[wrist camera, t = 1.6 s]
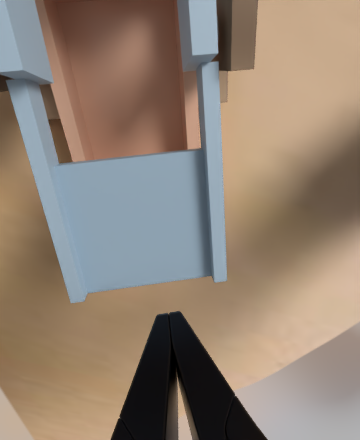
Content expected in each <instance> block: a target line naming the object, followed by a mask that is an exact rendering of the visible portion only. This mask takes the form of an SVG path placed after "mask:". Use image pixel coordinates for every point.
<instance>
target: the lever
mask: <svg viewBox="0 0 360 440" xmlns="http://www.w3.org/2000/svg"><path fill="white" fill-rule="evenodd" d="M177 7H178V19H179V31H180V44H181V56H182V68H183V72H186V71H196V77H197V92H198V107H199V122H200V137H201V148H197V149H188V150H179V151H170V152H161V153H151V154H142V155H133V156H124V157H115V158H106V159H97V160H88V161H78V162H69V163H60V164H59V161H58V157H57V154H56V150H55V146H54V142H53V138H52V134H51V130H50V126H49V122H48V118H47V114H46V110H45V106H44V102H43V98H42V94H41V91H40V87H39V85H42V84H53V83H54V80H53V76H52V72H51V68H50V63H49V59H48V55H47V51H46V46H45V42H44V38H43V34H42V30H41V25H40V21H39V17H38V13H37V8H36V4H35V0H0V74H1V75H4V76H7V77H10V78H13V79H14V80H6V82H7V86H8V89H9V93H10V96H11V100H12V103H13V106H14V110H15V113H16V117H17V120H18V124H19V127H20V130H21V134H22V137H23V141H24V144H25V148H26V151H27V154H28V158H29V161H30V165H31V168H32V172H33V175H34V178H35V182H36V185H37V189H38V192H39V196H40V199H41V202H42V206H43V209H44V213H45V216H46V220H47V223H48V226H49V230H50V233H51V237H52V240H53V244H54V247H55V250H56V254H57V257H58V261H59V264H60V268H61V271H62V274H63V278H64V281H65V285H66V288H67V291H68V295H69V298H70V302H71V303H76V302H83V301H85V298H86V296H87V293H93V292H100V291H107V290H114V289H121V288H128V287H136V286H143V285H150V284H157V283H164V282H171V281H178V280H185V279H192V278H199V277H206V276H212V278H213V280H214V283H215V282H222V281H227V266H226V240H225V215H224V189H223V164H222V139H221V113H220V88H219V62H218V61H216V62H211V60H212V59H213V58H214V57H215V56H216V55H217V54H218V37H219V26H218V17H217V9H216V0H177Z"/></svg>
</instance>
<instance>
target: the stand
mask: <svg viewBox="0 0 360 440" xmlns="http://www.w3.org/2000/svg"><path fill="white" fill-rule="evenodd" d="M257 7H258V0H216V9H217V17H218V26H219V37H218V54H217V55H216V56H215V57H214V58H213V59H212V60H211V62H216V61H218V62H219V88H220V103H223V102H227V96H228V71H238V70H249V69H254V60H255V42H256V25H257ZM6 80H14V79H13V78H10V77H7V76H4V75H1V74H0V92H2V91H8V90H9V89H8V86H7V82H6ZM39 87H40V91H41V94H42V98H43V102H44V106H45V110H46V114H47V118H48V120H51V119H60V116H59V112H58V109H57V106H56V102H55V99H54V95H53V92H52V88H51V85H50V84H42V85H39Z"/></svg>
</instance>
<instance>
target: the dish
mask: <svg viewBox="0 0 360 440" xmlns="http://www.w3.org/2000/svg"><path fill="white" fill-rule="evenodd" d="M35 4H36V8H37V13H38V17H39V21H40V25H41V30H42V34H43V38H44V42H45V46H46V51H47V55H48V59H49V63H50V68H51V72H52V76H53V80H54V83H53V84H50V85H51V88H52V92H53V95H54V99H55V102H56V106H57V109H58V112H59V116H60V119H61V123H62V126H63V130H64V133H65V137H66V140H67V143H68V147H69V150H70V154H71V157H72V161H73V162H78V161H88V160H97V159H106V158H115V157H124V156H133V155H142V154H151V153H161V152H170V151H179V150H188V149H197V148H200V141H199V115H198V92H197V77H196V71H186V72H183V68H182V56H181V44H180V31H179V19H178V7H177V0H35Z"/></svg>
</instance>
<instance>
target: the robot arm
mask: <svg viewBox="0 0 360 440" xmlns="http://www.w3.org/2000/svg"><path fill="white" fill-rule="evenodd" d="M177 377H178V382H179V386H180V390H181V395H182V399H183V403H184V407H185V411H186V415H187V419H188V423H189V427H190V431H191V435H192V439H193V440H268V439H267V438H266V437H265V436H264V434H263V433H262V432H261V430H260V429H259V428H258V427H257V426H256V424H255V422H254V421H253V420H252V418H251V417H250V415H249V414H248V413H247V411H246V410H245V408H244V407H243V405H242V404H241V402H240V401H239V399H238V398H237V397H236V396H235V393H234V392H233V390H232V389H231V387H230V386H229V384H228V383H227V381H226V380H225V378H224V377H223V375H222V374H221V372H220V371H219V369H218V368H217V366H216V365H215V363H214V361H213V360H212V358H211V357H210V355H209V354H208V352H207V351H206V349H205V348H204V346H203V345H202V343H201V342H200V340H199V339H198V337H197V336H196V334H195V333H194V331H193V330H192V328H191V327H190V325H189V324H188V322H187V321H186V319H185V318H184V316H183V315H182V313H181V312H180V311H176V312H170V313H169V314H168V313H164V314H158V315H157V316H156V318H155V321H154V324H153V326H152V329H151V332H150V334H149V337H148V340H147V343H146V345H145V348H144V351H143V354H142V356H141V359H140V362H139V364H138V367H137V370H136V373H135V375H134V378H133V381H132V383H131V386H130V389H129V392H128V394H127V397H126V400H125V402H124V405H123V408H122V411H121V413H120V418H119V419H118V421H117V424H116V427H115V429H114V432H113V435H112V437H111V440H178V386H177Z"/></svg>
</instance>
